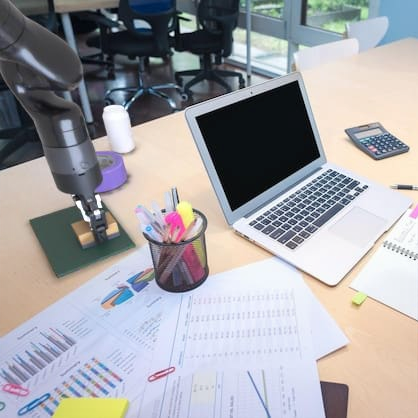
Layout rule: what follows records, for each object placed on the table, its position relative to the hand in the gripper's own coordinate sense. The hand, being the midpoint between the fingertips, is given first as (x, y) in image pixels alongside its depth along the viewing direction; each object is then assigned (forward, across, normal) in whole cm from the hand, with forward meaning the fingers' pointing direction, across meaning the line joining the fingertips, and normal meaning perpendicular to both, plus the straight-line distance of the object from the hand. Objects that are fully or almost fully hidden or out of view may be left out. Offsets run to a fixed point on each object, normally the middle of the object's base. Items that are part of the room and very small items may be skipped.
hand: (98, 234), depth 78 cm
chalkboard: (+1, -4, -2) cm, 4 cm away
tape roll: (+1, -22, +8) cm, 23 cm away
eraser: (0, 0, 0) cm, 0 cm away
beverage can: (+1, -34, +18) cm, 38 cm away
